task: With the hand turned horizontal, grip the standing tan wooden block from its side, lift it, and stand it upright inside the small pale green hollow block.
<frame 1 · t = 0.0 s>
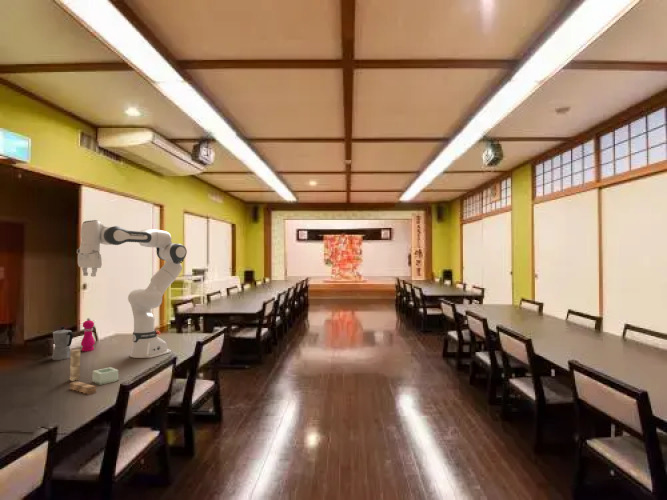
hand: (89, 276, 208), 48 cm above the table, tool pointing down, fingers open, 8 cm apart
coffeepot: (62, 358, 223), on the table
tan wooden block: (74, 379, 185), on the table
pepper mill: (87, 350, 242), on the table
pale green hollow block: (105, 381, 184), on the table
tan wooden bar: (82, 391, 170), on the table
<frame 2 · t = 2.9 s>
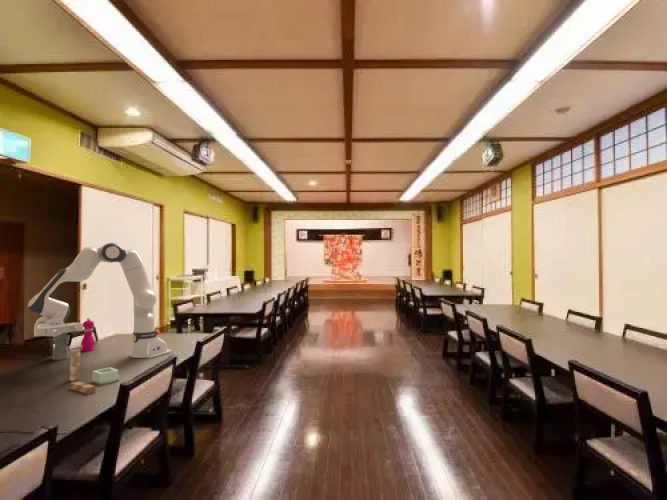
hand: (65, 330, 192), 22 cm above the table, tool horizontal, fingers open, 8 cm apart
nothing on the table moved.
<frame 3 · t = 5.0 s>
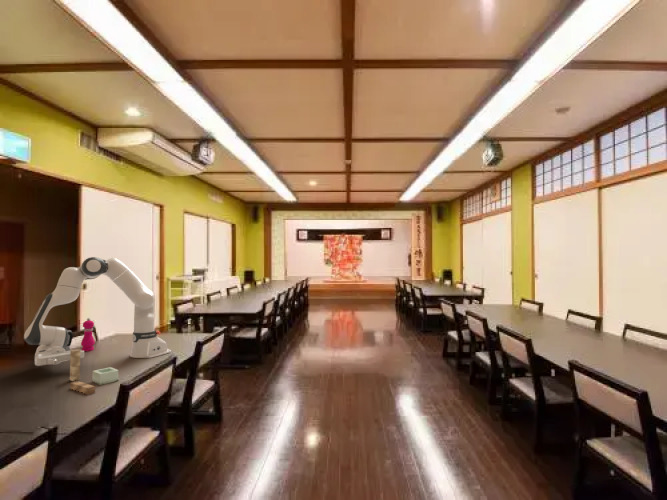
hand: (66, 359, 190), 8 cm above the table, tool horizontal, fingers open, 8 cm apart
nothing on the table moved.
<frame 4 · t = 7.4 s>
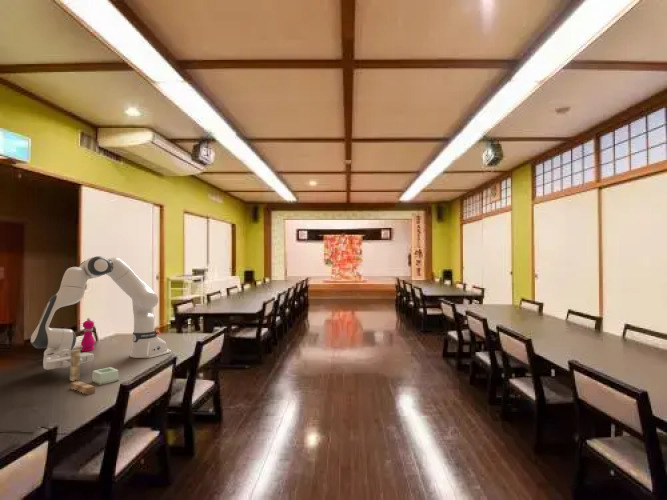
hand: (75, 363, 184), 8 cm above the table, tool horizontal, fingers closed on tan wooden block, 3 cm apart
tan wooden block: (74, 379, 185), on the table, touching gripper
everything else where it was.
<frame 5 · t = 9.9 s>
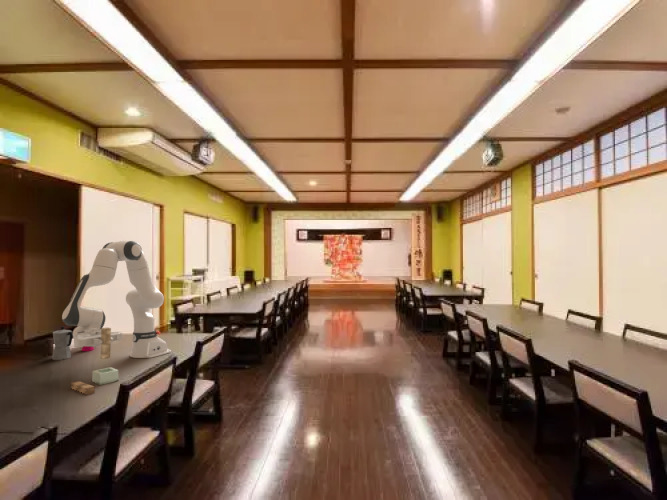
hand: (106, 341, 184), 19 cm above the table, tool horizontal, fingers closed on tan wooden block, 3 cm apart
tan wooden block: (105, 357, 184), point 11 cm above the table, touching gripper
everything else where it was.
when the fingers open (10 cm above the table, at t = 12.3 s): tan wooden block drops 1 cm, resting on pale green hollow block.
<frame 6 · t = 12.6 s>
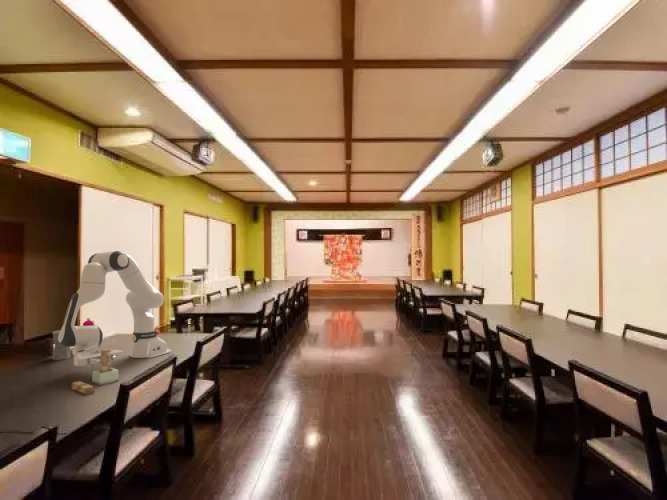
hand: (106, 360, 183), 10 cm above the table, tool horizontal, fingers open, 6 cm apart
tan wooden block: (105, 379, 184), point 1 cm above the table, touching pale green hollow block
everything else where it was.
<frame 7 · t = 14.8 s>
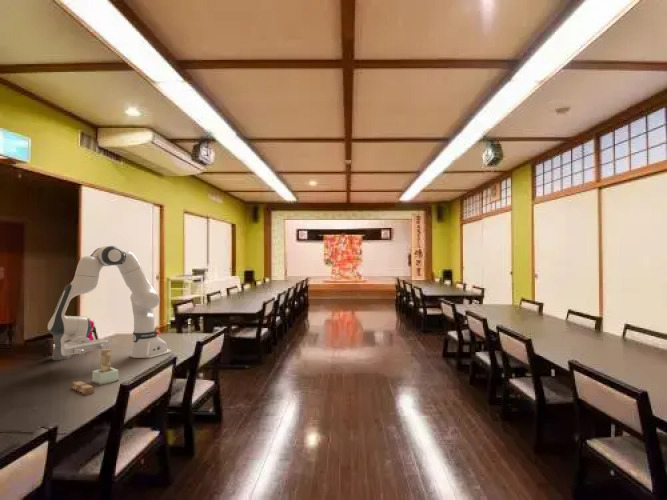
hand: (92, 349, 191), 13 cm above the table, tool horizontal, fingers open, 8 cm apart
nothing on the table moved.
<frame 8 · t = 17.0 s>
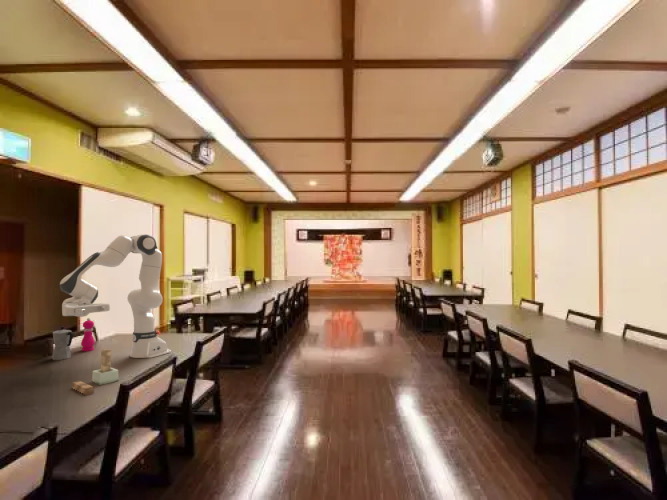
hand: (93, 310, 193), 32 cm above the table, tool horizontal, fingers open, 8 cm apart
nothing on the table moved.
at the end: tan wooden block 0.0 cm off-centre on the pale green hollow block, point 0.8 cm above the pale green hollow block's base; tan wooden block tilted 0°; the gripper is holding nothing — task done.
